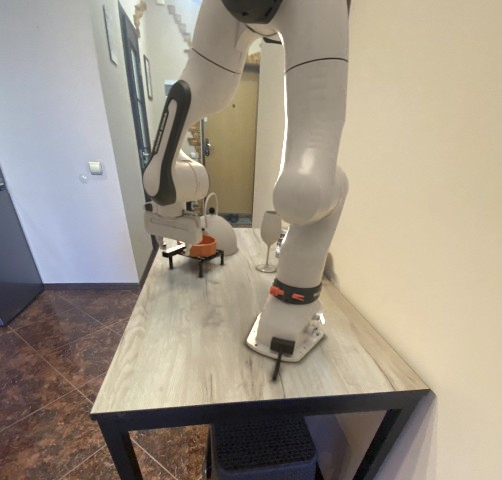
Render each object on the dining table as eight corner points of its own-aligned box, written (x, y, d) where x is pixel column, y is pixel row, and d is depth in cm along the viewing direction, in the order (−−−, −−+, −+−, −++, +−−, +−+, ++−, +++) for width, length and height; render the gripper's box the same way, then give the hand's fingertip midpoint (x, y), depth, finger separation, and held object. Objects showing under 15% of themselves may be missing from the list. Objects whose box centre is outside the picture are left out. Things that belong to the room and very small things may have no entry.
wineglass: (260, 272, 109) (266, 214, 97) (254, 265, 115) (259, 209, 103) (278, 272, 111) (286, 215, 99) (272, 265, 117) (279, 210, 105)
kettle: (229, 261, 116) (231, 201, 103) (176, 254, 118) (171, 194, 106) (241, 244, 136) (244, 192, 124) (196, 238, 139) (194, 186, 126)
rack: (201, 277, 101) (200, 260, 97) (169, 268, 105) (168, 252, 102) (223, 264, 113) (224, 249, 110) (194, 256, 117) (193, 241, 114)
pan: (192, 242, 113) (192, 231, 111) (223, 249, 109) (223, 238, 107) (148, 260, 94) (147, 247, 92) (183, 269, 90) (182, 257, 88)
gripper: (206, 211, 86) (206, 256, 93) (152, 201, 92) (156, 244, 100) (193, 214, 81) (195, 261, 89) (138, 203, 87) (144, 248, 95)
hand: (174, 252), depth 94 cm, fingers open, 8 cm apart
